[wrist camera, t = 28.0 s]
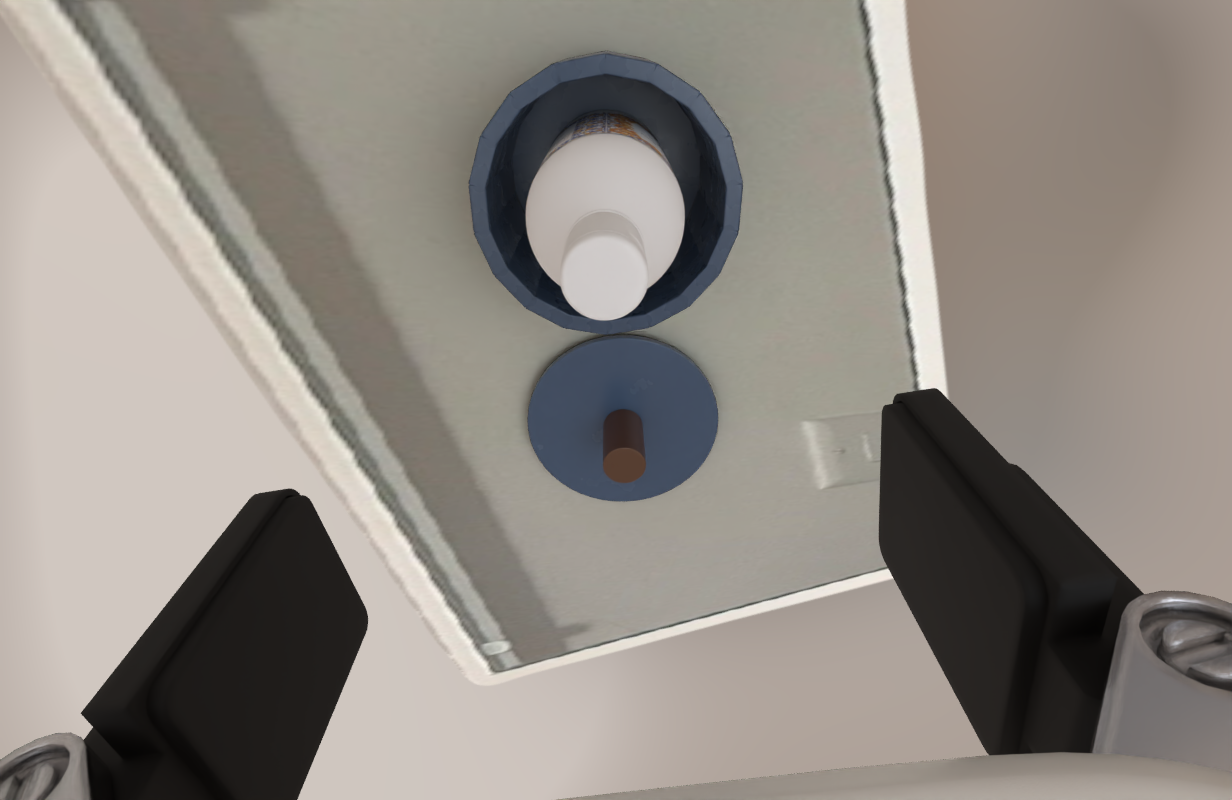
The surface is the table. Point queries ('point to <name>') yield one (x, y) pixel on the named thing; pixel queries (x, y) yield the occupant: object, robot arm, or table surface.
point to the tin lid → (622, 418)
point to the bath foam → (605, 213)
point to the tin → (685, 139)
